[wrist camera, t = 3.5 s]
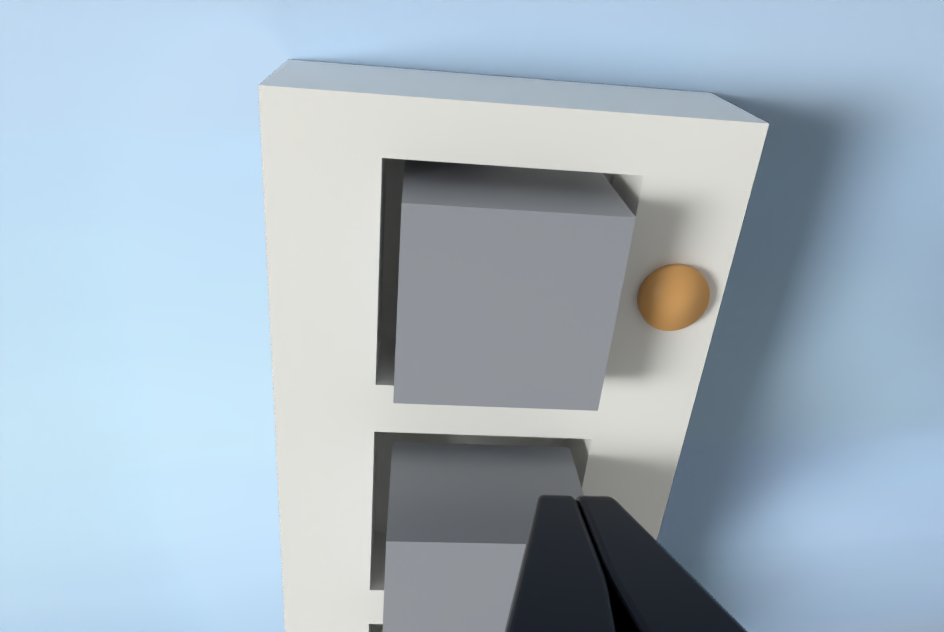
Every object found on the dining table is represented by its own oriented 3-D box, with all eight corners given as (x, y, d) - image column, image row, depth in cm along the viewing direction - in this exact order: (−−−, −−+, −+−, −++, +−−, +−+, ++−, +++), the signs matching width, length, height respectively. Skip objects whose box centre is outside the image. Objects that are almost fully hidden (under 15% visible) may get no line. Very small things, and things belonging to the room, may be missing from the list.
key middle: (546, 574, 18) (567, 683, 16) (386, 572, 18) (380, 683, 15) (569, 447, 16) (597, 545, 14) (392, 441, 16) (385, 541, 13)
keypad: (578, 672, 24) (598, 769, 21) (306, 671, 23) (290, 771, 21) (710, 92, 16) (774, 126, 13) (288, 59, 15) (256, 87, 12)
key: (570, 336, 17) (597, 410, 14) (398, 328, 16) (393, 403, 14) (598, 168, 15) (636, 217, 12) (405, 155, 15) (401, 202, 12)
